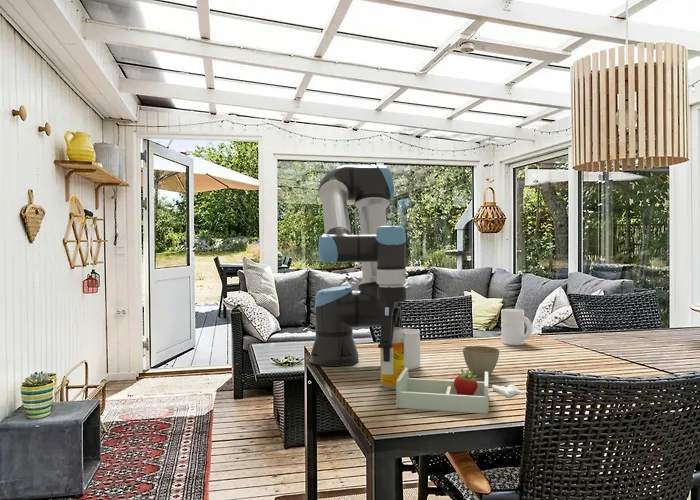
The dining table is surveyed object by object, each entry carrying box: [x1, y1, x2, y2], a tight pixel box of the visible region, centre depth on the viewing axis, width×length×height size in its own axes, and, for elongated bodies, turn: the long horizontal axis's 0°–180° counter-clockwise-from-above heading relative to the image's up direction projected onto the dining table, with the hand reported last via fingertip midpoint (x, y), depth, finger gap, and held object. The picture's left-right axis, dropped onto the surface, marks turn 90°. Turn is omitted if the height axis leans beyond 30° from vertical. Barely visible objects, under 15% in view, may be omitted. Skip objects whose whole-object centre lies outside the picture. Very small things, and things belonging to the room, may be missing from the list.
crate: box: [395, 368, 490, 415], centre depth 123 cm, size 20×13×6 cm, turn 75°
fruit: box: [454, 368, 478, 396], centre depth 122 cm, size 5×5×8 cm
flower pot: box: [462, 345, 501, 378], centre depth 149 cm, size 10×10×7 cm
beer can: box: [379, 327, 404, 390], centre depth 138 cm, size 6×6×15 cm
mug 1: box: [403, 328, 421, 371], centre depth 158 cm, size 9×12×11 cm
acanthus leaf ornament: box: [491, 384, 527, 398], centre depth 131 cm, size 8×7×2 cm
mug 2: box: [500, 308, 534, 346], centre depth 193 cm, size 8×12×12 cm
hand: (392, 368), depth 138 cm, fingers open, 13 cm apart
